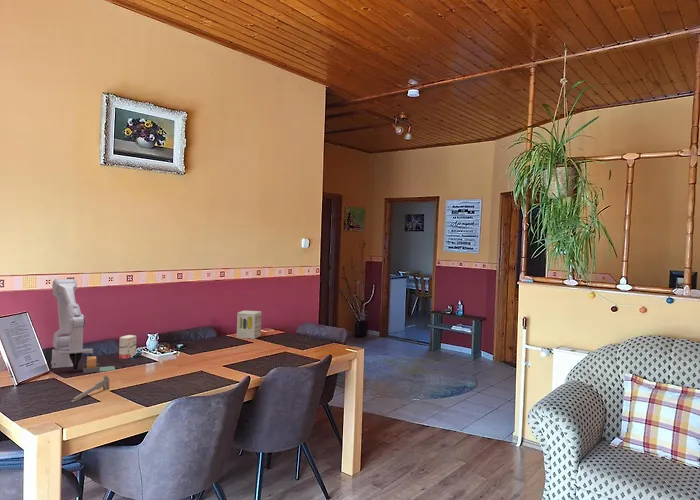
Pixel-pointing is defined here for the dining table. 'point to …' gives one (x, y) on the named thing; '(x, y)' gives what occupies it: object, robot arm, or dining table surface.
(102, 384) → the caliper
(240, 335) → the supplement box
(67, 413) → the dining table surface
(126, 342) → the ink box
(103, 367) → the pad
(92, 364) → the block
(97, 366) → the case
